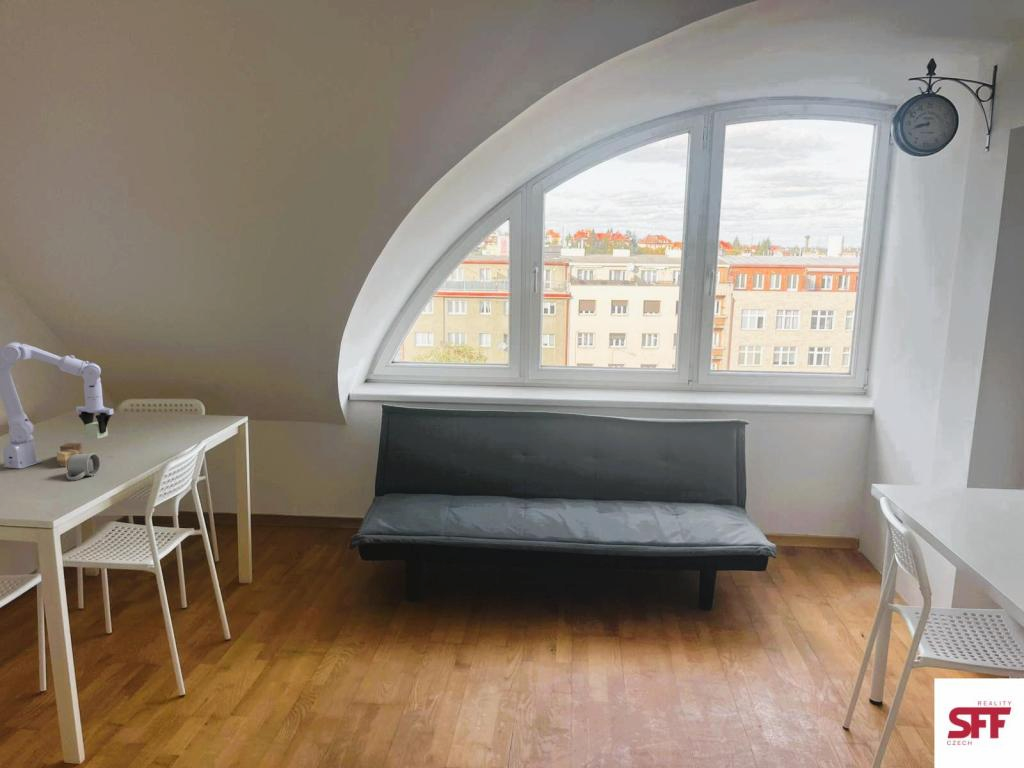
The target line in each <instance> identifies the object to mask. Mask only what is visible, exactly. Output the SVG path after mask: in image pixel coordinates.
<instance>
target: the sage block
mask: <svg viewBox="0 0 1024 768" xmlns="http://www.w3.org/2000/svg"><path fill="white" fill-rule="evenodd" d="M84 427H85V436H86V439H101V438H104V437H108V436H109V433H108V427H107V428H106V432H105V433H100V431H99V424H98V421H93V423H89V424H86V425H84Z"/></svg>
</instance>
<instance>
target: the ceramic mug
mask: <svg viewBox="0 0 1024 768" xmlns="http://www.w3.org/2000/svg"><path fill="white" fill-rule="evenodd" d="M66 466H67V467H66V470H67V472H66V475H65V476H66V478H67V479H68V480H69V481H73V480H74V481H78V480H81V479H82V478H84V477H87V476H88V477H94V476H95V475H97V474H98V473H99V471H100V467H101V460H100V457H99V456H98V454H97V453H92V452H91V453H82V454H76V455H72V456H70V457H69V459H68V461H67V465H66ZM71 475H73V476H71ZM93 475H94V476H93Z"/></svg>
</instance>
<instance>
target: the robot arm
mask: <svg viewBox="0 0 1024 768" xmlns="http://www.w3.org/2000/svg"><path fill="white" fill-rule="evenodd" d="M20 359H22V360H23V361H25V360H30V359H34V360H38V361H42V362H44V363H49V364H51V365H55V366H58V368H59V370H60V371H61V372H65V373H67V374H71V375H73V376H77V377H81V378H82V379H83V392H84V403H85V404H84V406H83V405H82V406H80V405H79V406H76V407H75V411H76V413H77V414H78V413H79V414H78V418H79V419H80V420H81V421H82V423H83V425H84V426H85V425H86V424H89V423H93V422H94V418H96V420H97V421H96V422H98V424H99V431H100V433H105V432H106V428H107V429H108V423H109V421H110V418H111V417H112V415H114V414H115V413H114V408H110V407H106V406H104V400H103V387H102V382H101V381H102V379H101V376H100V375H101V374H102V373H101V372H102V369H101V367H100V366H99V365H98V364H96V363H95V362H90V361H88V360H85V361H84V360H81V359H79V358H75V355H73V354H71V355H65V356H60V355H56V354H54V353H51V352H49V351H46V350H43V349H41V348H39V347H36V346H33V345H29V344H27V343H21V342H18V341H10V342H8V343H7V344H6V345H5V344H4V345H3V346H2V347H1V348H0V397H1V401H2V403H3V407H4V409H5V412H6V414H7V424H8V427H9V429H8V436H9V438H10V441H9V443H8V444H5V445H4V447H3V451H2V452H3V460H4V462H3V463H4V465H2V467H3V468H9V469H10V468H11V469H20V470H21V469H25V468H27V467H31V466H34V465H37V464H41V463H43V460H41V459H37V454H36V444H35V437H34V436H33V434H32V433H34V428H35V427H34V424H33V422H31V421H30V419H29V418H28V415H27V414H26V413H25V410H24V408H23V406H22V403H21V400H20V397H19V395H18V391H17V389H16V386H15V383H14V380H13V379H14V378H13V376H12V374H11V369H12V368H13V367H14V365H15V363H16V362H17V361H20ZM94 416H95V417H94Z"/></svg>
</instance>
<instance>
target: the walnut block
mask: <svg viewBox="0 0 1024 768" xmlns="http://www.w3.org/2000/svg"><path fill="white" fill-rule="evenodd" d="M82 444H83V443H82V442H67V443H65V444H62V445H60V446H59V451H63V450H67V449H73V450H77V451H79V454H83V445H82Z"/></svg>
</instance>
